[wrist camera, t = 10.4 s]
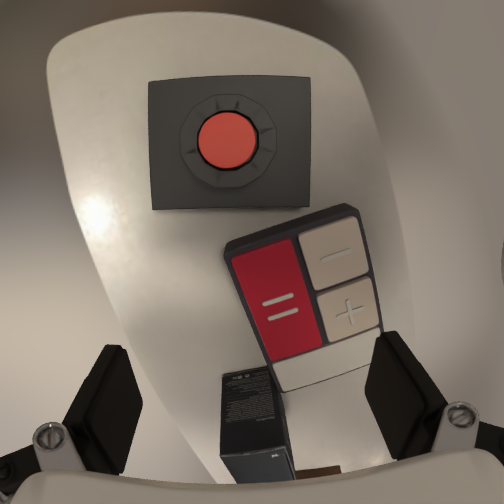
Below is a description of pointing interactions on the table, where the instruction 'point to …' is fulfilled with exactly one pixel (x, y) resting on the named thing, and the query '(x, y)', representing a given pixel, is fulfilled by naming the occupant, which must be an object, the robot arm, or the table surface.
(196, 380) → the table surface
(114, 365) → the robot arm
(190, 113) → the bell block
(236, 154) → the bell button
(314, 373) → the calculator
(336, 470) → the plate
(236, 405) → the box
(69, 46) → the table surface
